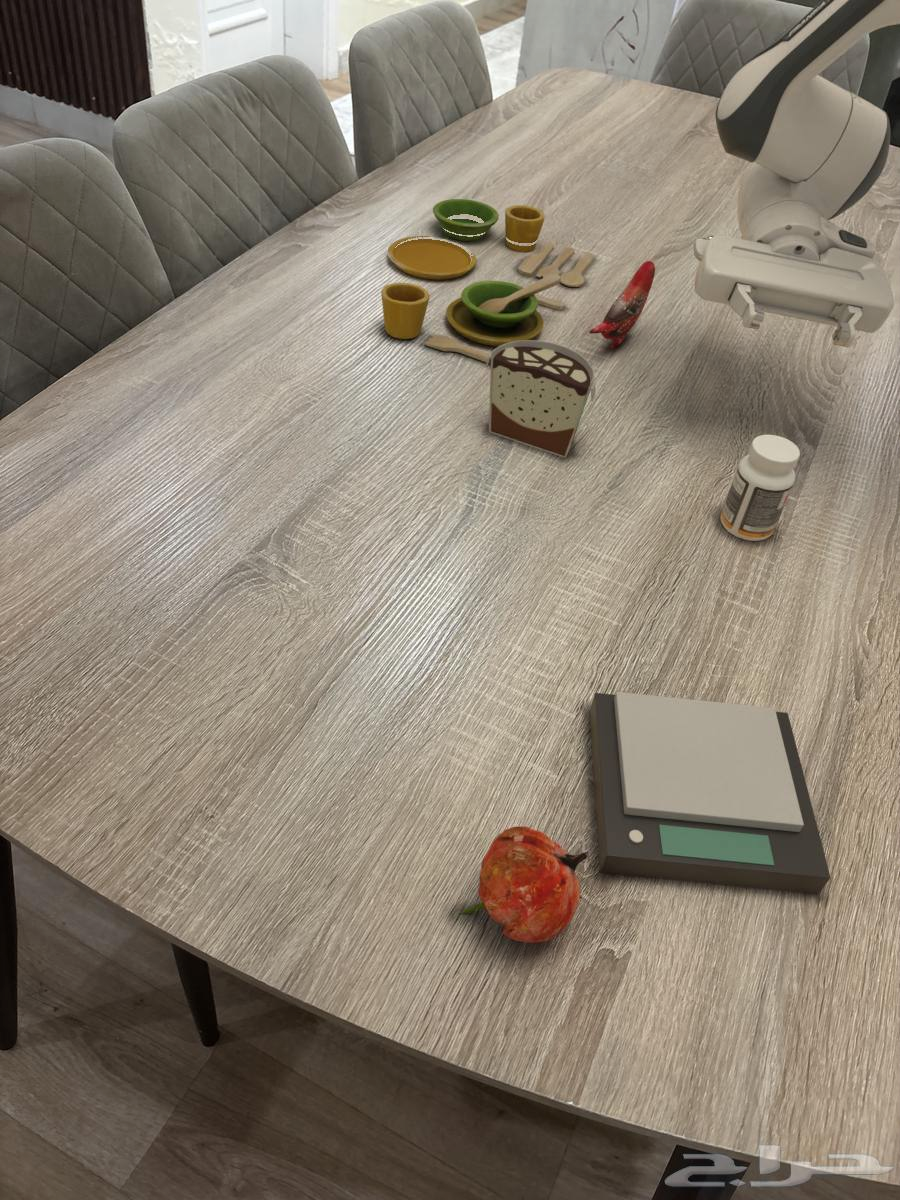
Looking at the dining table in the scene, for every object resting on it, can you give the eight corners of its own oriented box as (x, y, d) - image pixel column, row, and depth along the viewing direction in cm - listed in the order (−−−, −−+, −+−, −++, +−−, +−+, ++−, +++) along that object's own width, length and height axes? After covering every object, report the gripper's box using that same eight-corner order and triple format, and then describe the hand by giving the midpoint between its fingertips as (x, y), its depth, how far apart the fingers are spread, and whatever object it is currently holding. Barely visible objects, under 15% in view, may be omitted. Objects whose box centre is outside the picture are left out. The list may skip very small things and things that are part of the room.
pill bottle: (780, 523, 99) (814, 446, 92) (761, 551, 96) (795, 472, 89) (730, 501, 101) (759, 424, 94) (709, 527, 98) (739, 449, 91)
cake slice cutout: (595, 436, 108) (614, 358, 101) (578, 463, 104) (596, 384, 97) (497, 404, 111) (508, 326, 104) (476, 429, 107) (487, 350, 100)
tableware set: (512, 379, 115) (519, 332, 111) (311, 319, 121) (311, 272, 117) (604, 257, 143) (613, 215, 139) (438, 213, 150) (442, 172, 145)
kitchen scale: (777, 731, 79) (792, 704, 76) (818, 895, 68) (836, 870, 66) (588, 711, 78) (597, 684, 76) (599, 873, 68) (609, 847, 65)
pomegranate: (487, 985, 63) (621, 942, 60) (428, 931, 60) (568, 882, 56) (486, 890, 69) (608, 847, 66) (432, 836, 65) (559, 787, 62)
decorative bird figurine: (648, 329, 128) (667, 259, 121) (589, 381, 117) (606, 306, 110) (629, 322, 129) (647, 252, 122) (569, 373, 118) (584, 298, 111)
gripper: (703, 207, 99) (710, 285, 91) (889, 245, 100) (913, 325, 92) (683, 259, 104) (687, 337, 96) (860, 295, 105) (880, 375, 97)
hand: (799, 332), depth 94 cm, fingers open, 8 cm apart
